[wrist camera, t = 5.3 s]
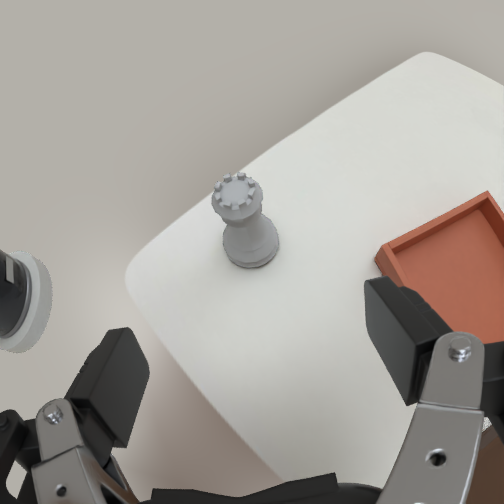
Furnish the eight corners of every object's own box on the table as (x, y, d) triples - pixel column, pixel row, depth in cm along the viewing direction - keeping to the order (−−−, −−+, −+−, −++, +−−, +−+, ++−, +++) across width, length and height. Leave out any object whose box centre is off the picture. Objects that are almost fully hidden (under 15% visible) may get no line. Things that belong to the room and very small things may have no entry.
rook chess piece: (285, 261, 25) (280, 208, 18) (231, 276, 25) (204, 230, 18) (271, 214, 27) (260, 152, 19) (220, 228, 27) (193, 171, 20)
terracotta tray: (443, 402, 18) (458, 403, 16) (373, 258, 24) (381, 245, 22) (538, 319, 19) (555, 312, 16) (476, 204, 24) (487, 190, 22)
